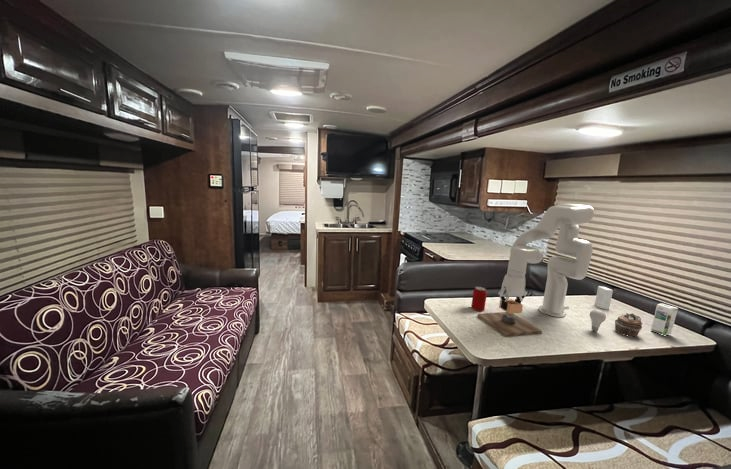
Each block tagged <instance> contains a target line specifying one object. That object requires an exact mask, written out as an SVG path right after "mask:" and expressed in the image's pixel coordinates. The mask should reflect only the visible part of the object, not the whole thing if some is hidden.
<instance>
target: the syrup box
mask: <svg viewBox="0 0 731 469" xmlns="http://www.w3.org/2000/svg"><path fill="white" fill-rule="evenodd" d="M678 310H679V308H678V307H675V306H671V305H670V304H666V303H658V304H656V308H655V312H654V317H653V320H652V323H651V327H650V330H651V331H654V332H657V333H660V334H663V335H669V334H671V335H672V332H673V328H674V325H675V321H676V317H677V314H678V313H677V312H678ZM651 331H650V332H651ZM654 332H653V333H654ZM657 333H656V334H657ZM669 336H670V335H669Z"/></svg>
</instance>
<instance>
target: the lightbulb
mask: <svg viewBox="0 0 731 469" xmlns="http://www.w3.org/2000/svg"><path fill="white" fill-rule="evenodd" d="M589 317H590V318H589V319H590V321H591V323H590V324H591V327H590V328H591V330H592V331H593V332H598V331H599V328H600V327H601V325H602V324H603V323H604V322H605V320H606V318H607V316H606V313H605V312H604V311H602V309H597V308H595V309H592V310H591V311H590V312H589Z"/></svg>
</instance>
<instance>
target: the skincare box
mask: <svg viewBox="0 0 731 469" xmlns="http://www.w3.org/2000/svg"><path fill="white" fill-rule="evenodd" d="M613 293H614V290H613V289H611V288H608V287H606V286H600V285H598V287H597V292H596V296H595V302H594V306H595V307H597V308H599V309H600V310H610V308H611V307H610V305H611V302H612V296H613Z"/></svg>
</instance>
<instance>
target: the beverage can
mask: <svg viewBox="0 0 731 469" xmlns="http://www.w3.org/2000/svg"><path fill="white" fill-rule="evenodd" d="M487 294H488V292H487V288H485V287H482V286H475V288H474V289H473V292H472V300H471V309H472V310H474V311H477V312H483V311H484V310H485V309H486V308H485V307H486V301H487Z"/></svg>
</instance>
